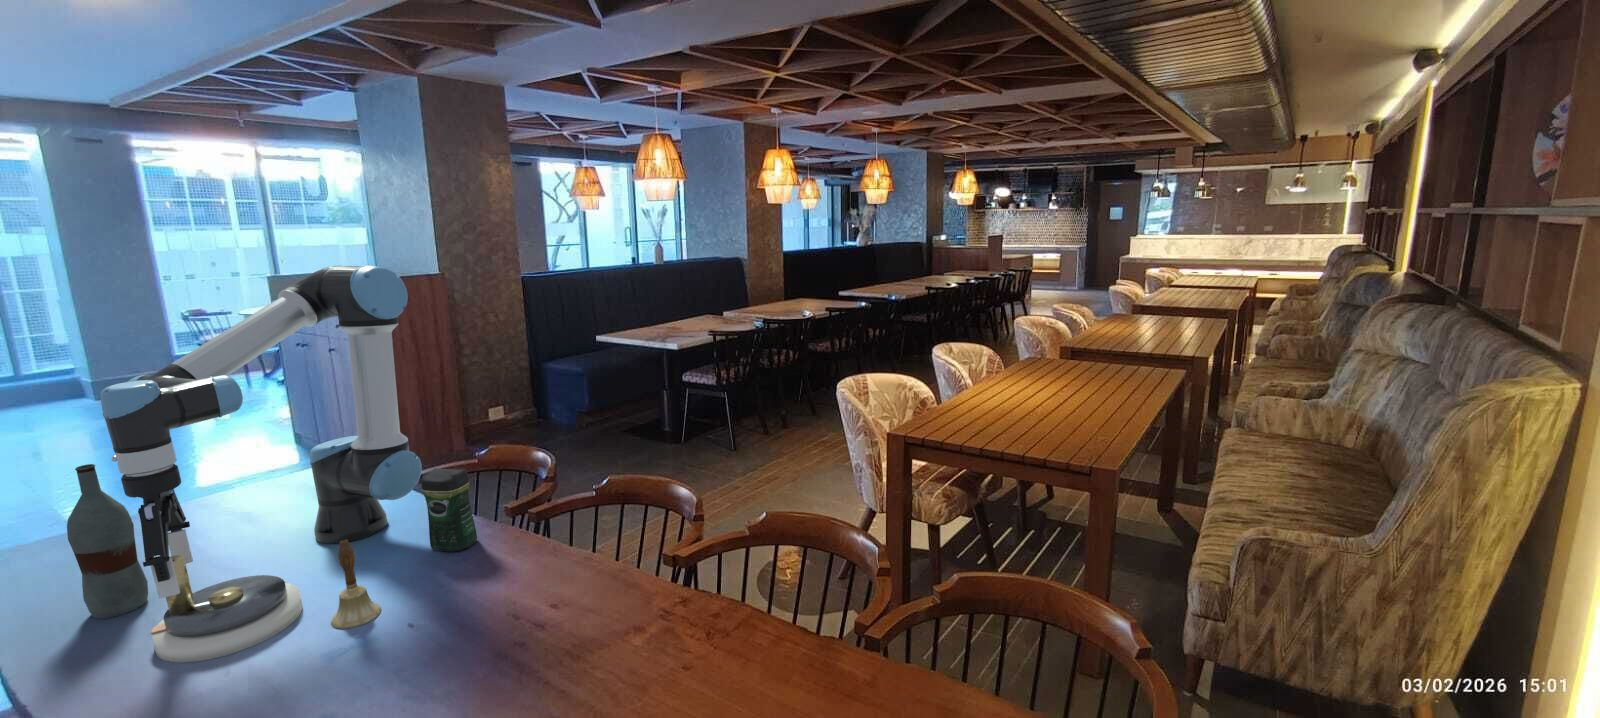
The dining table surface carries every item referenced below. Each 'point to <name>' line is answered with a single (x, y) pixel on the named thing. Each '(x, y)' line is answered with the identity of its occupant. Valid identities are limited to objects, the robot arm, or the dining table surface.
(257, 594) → the handwheel
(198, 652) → the wheel base
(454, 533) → the coffee jar
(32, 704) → the dining table surface
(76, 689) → the dining table surface
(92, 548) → the bottle
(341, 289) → the robot arm
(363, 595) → the hand bell
